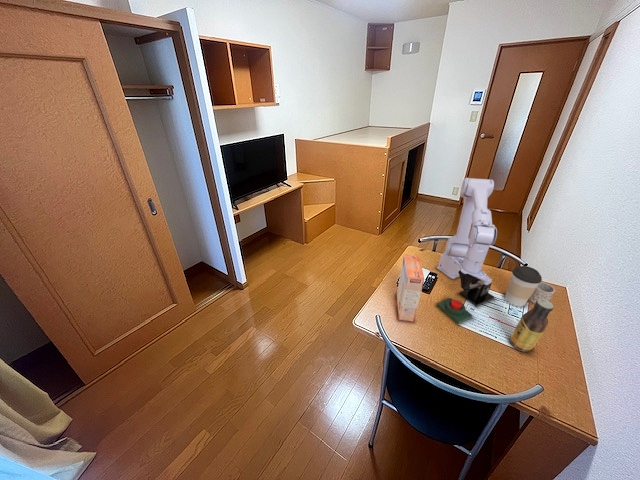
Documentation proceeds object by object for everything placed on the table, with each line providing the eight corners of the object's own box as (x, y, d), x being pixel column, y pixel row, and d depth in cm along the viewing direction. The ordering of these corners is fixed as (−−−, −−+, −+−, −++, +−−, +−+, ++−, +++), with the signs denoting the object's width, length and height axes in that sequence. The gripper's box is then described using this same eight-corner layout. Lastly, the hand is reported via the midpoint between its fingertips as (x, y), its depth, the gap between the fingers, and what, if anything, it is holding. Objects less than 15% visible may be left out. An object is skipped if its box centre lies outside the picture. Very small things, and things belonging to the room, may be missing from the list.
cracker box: (414, 322, 96) (425, 278, 85) (397, 320, 97) (406, 276, 86) (411, 296, 107) (420, 254, 96) (396, 294, 108) (403, 253, 97)
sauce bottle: (510, 333, 90) (533, 291, 80) (532, 343, 87) (559, 300, 76) (507, 346, 86) (531, 303, 76) (530, 357, 83) (558, 313, 72)
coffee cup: (520, 292, 107) (535, 263, 99) (533, 309, 99) (550, 278, 92) (497, 291, 108) (509, 262, 100) (508, 307, 100) (522, 277, 93)
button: (448, 304, 98) (449, 301, 98) (455, 301, 100) (456, 298, 99) (455, 311, 96) (457, 307, 95) (462, 308, 97) (464, 304, 96)
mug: (550, 301, 103) (558, 288, 99) (542, 308, 100) (550, 295, 96) (523, 287, 110) (529, 274, 107) (515, 293, 107) (521, 280, 104)
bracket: (476, 307, 101) (482, 291, 97) (459, 294, 107) (464, 278, 103) (493, 299, 105) (500, 283, 100) (476, 287, 111) (481, 271, 107)
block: (436, 306, 102) (438, 300, 100) (449, 300, 104) (451, 294, 103) (457, 324, 94) (460, 318, 92) (471, 318, 97) (473, 311, 95)
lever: (465, 293, 98) (468, 287, 96) (459, 288, 100) (462, 283, 98) (484, 288, 103) (487, 283, 102) (478, 284, 105) (481, 279, 104)
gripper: (449, 250, 93) (440, 279, 100) (486, 273, 82) (473, 304, 89) (463, 245, 95) (454, 274, 103) (501, 267, 84) (487, 297, 91)
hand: (464, 287), depth 96 cm, fingers closed
